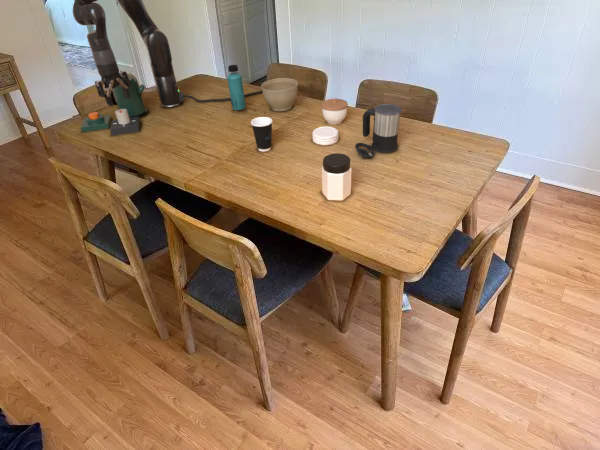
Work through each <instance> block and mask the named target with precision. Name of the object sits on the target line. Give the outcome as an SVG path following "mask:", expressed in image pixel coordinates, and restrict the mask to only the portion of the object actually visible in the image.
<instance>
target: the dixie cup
mask: <svg viewBox="0 0 600 450" xmlns="http://www.w3.org/2000/svg"><path fill="white" fill-rule="evenodd" d="M272 123H273V119H272V118H271V117H268V116H259V117H258V116H257V117H255V118H253V119H251V121H250V125H251V127H252V131H253V135H254V139H255V143H256V147H257V149H258V151H259V152H268V151H270V150H271V149H272V144H273V143H272V141H273V140H272V139H273V138H272V137H273V136H272V135H273V134H272V133H273V124H272Z"/></svg>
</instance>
